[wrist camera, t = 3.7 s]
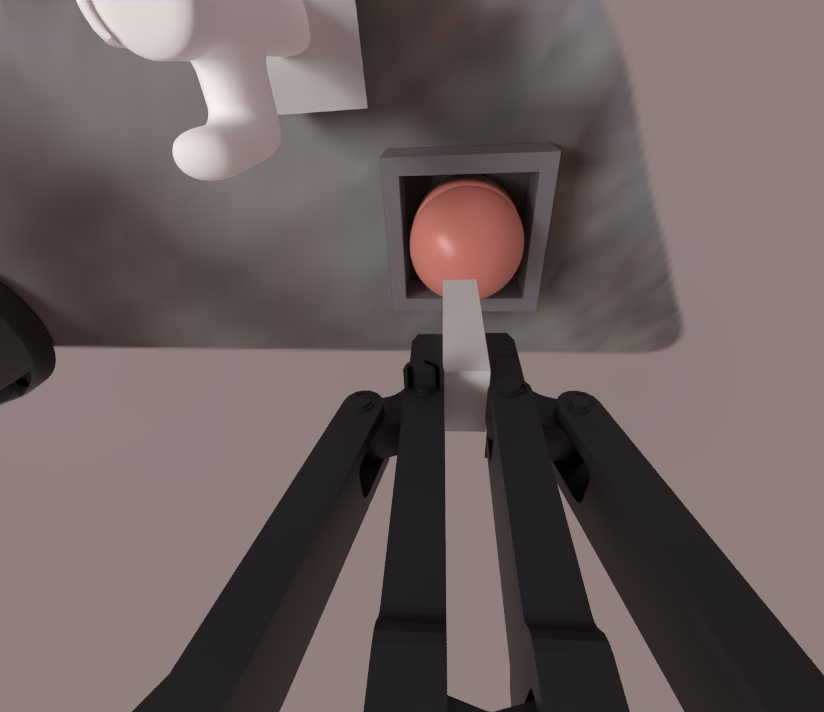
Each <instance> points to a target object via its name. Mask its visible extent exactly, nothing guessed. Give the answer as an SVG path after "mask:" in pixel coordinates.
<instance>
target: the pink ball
mask: <svg viewBox="0 0 824 712" xmlns="http://www.w3.org/2000/svg"><path fill="white" fill-rule="evenodd" d="M523 250H524V231H523V227H522V222H521V220H520V217H519V215H518V212H517V210H516V208H515V205H514V203H513V201H512V199H511V197H510V195H509V194H508V193H507V191H506V190H505V189H504V188H503V187H502V186H501V185H500V184H498V183H497V182H495V181H494V180H492V179H490V178H488V177H485V176H482V175H478V174H458V175H454V176H451V177H448V178H446V179H444V180H442V181H440V182H438V183H437V184H436V185H434V186H433V187H432V188H431V189H430V190H429V191H428V192H427V193H426V194H425V196H424V197H423V198H422V200H421V202H420V204H419V206H418V208H417V211H416V214H415V218H414V222H413V226H412V230H411V235H410V255H411V259H412V263H413V266H414V268H415V271H416V273H417V274H418V276H419V278H420V279H421V280H422V281H423V283H424V284H425V285H426V286H427V287H428V288H429V289H430V290H432V291H433V292H434V293H436V294H438V295H439V296H442V297H443V280H466V279H477V286H478V292H479V299H484V298H486V297H488V296H491V295H492V294H494V293H496V292H497V291H499V290H500V289H501V288H503V287H504V286H505V285H506V284H507V283H508V282H509V281H510V279H511V278H512V277H513V275H514V274H515V272H516V270H517V268H518V266H519V264H520V262H521V259H522V255H523Z"/></svg>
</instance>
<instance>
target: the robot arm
mask: <svg viewBox="0 0 824 712" xmlns="http://www.w3.org/2000/svg"><path fill="white" fill-rule="evenodd" d="M55 362H56V358H55V351H54V348H53V345H52V342H51V340H50V338H49V336H48V334H47V332H46V330H45V329H44V327H43V326H42V324H41V323H40V322H39V320H38V319H37V318H36V316H35V315H34V314H33V313H32V312H31V311H30V309H29V308H28V307H27V306H26V305H25V304H24V303H23V302H22V301H21V300H20V299H19V298H18V297H16V296H15V295H14V294H13V293H12V292H11V291H9V290H8V289H7V288H6V287H4V286H3V285H2V284H0V405H2V404H4V403H7V402H9V401H12V400H14V399H17V398H20V397H22V396H24V395H26V394H28V393H29V392H31V391H32V390H33V389H35V388H36V387H37V386H38V385H40V384H41V383H42V382H44V381H45V380H46V379H47V378H49V377H50V375H51V374H52V372H53V370H54V368H55ZM403 373H404V386H405V388H404V389H403V390H402V391H401V392H399V393H398V394H396V395H393V396H390V397H386V398H382V397H381V396H380V395H379V394H377V393H375V392H372V391H359V392H355V393H353V394H351V395H349V396H348V397H347V398H346V399H345V400H344V402H343V403H342V405H341V406H340V408H339V410H338V411H337V413H336V414H335V416H334V417H333V419H332V420H331V422H330V424H329V425H328V427H327V428H326V430H325V432H324V433H323V435H322V436H321V438H320V439H319V441H318V442H317V444H316V446H315V447H314V449H313V450H312V452H311V453H310V455H309V456H308V458H307V460H306V461H305V463H304V464H303V466H302V467H301V469H300V471H299V472H298V474H297V475H296V477H295V478H294V480H293V481H292V483H291V485H290V486H289V488H288V489H287V491H286V492H285V494H284V496H283V497H282V499H281V501H280V502H279V503H278V505H277V507H276V508H275V510H274V511H273V513H272V514H271V516H270V517H269V519H268V521H267V522H266V524H265V525H264V527H263V528H262V530H261V532H260V533H259V535H258V536H257V538H256V539H255V541H254V542H253V544H252V546H251V547H250V549H249V550H248V552H247V554H246V555H245V557H244V558H243V560H242V561H241V563H240V564H239V566H238V567H237V569H236V571H235V572H234V574H233V575H232V577H231V578H230V580H229V582H228V583H227V585H226V586H225V588H224V589H223V591H222V593H221V594H220V596H219V597H218V599H217V600H216V602H215V603H214V605H213V607H212V608H211V610H210V612H209V613H208V614H207V616H206V618H205V619H204V621H203V623H202V624H201V625H200V627H199V628H198V630H197V632H196V633H195V635H194V636H193V638H192V640H191V641H190V643H189V644H188V646H187V647H186V649H185V650H184V652H183V654H182V655H181V657H180V658H179V660H178V662H177V663H176V664H175V666H174V668H173V669H172V671H171V672H170V674H169V675H168V676H167V677H166V678H165V679H164V680H163V681H162V682H161V683H160V684H159V685H158V686H157V687H156V688H155V689H154V690H153V691H152V692H151V693H150V694H149V695H148V696H147V697H146V698H145V699H144V700H143V701H142V702H141V703H140V704H139V705H138V706H137V707H136V708H135V709H134V710H133V711H132V712H279V711H280V709H281V706H282V705H283V702H284V700H285V698H286V696H287V693H288V691H289V689H290V686H291V684H292V682H293V680H294V677H295V675H296V673H297V670H298V668H299V666H300V663H301V661H302V659H303V656H304V654H305V652H306V650H307V647H308V645H309V643H310V640H311V638H312V636H313V634H314V631H315V629H316V627H317V624H318V622H319V620H320V617H321V615H322V613H323V611H324V608H325V606H326V603H327V601H328V599H329V597H330V594H331V592H332V590H333V588H334V585H335V583H336V581H337V578H338V576H339V574H340V571H341V569H342V567H343V565H344V562H345V560H346V558H347V555H348V553H349V551H350V549H351V546H352V544H353V542H354V539H355V537H356V534H357V533H358V530H359V528H360V526H361V523H362V521H363V519H364V516H365V514H366V512H367V510H368V507H369V505H370V503H371V500H372V498H373V496H374V493H375V491H376V489H377V486H378V484H379V482H380V480H381V477H382V475H383V473H384V470H385V468H386V466H387V463H388V461H389V457H392V456H395V455H397V463H396V472H395V481H394V489H393V498H392V507H391V516H390V526H389V534H388V543H387V552H386V561H385V570H384V579H383V588H382V596H381V605H380V612H379V616H378V618H377V620H376V622H375V627H374V632H373V638H372V646H371V655H370V662H369V671H368V679H367V688H366V696H365V705H364V712H488V711H485V710H482V709H480V708H477V707H475V706H473V705H470V704H468V703H465V702H463V701H460V700H458V699H455V698H453V697H450V696H448V695H447V643H446V641H447V638H446V542H445V431H485V429H487V437H486V448H485V458H488V467H489V476H490V485H491V494H492V503H493V513H494V522H495V531H496V539H497V549H498V559H499V568H500V576H501V586H502V595H503V605H504V613H505V623H506V632H507V641H508V650H509V659H510V694H511V707H509V708H506V709H502V710H499V711H495V712H630V711H629V708H628V704H627V701H626V697H625V694H624V690H623V687H622V683H621V680H620V676H619V673H618V669H617V666H616V662H615V659H614V655H613V652H612V649H611V647H610V644H609V641H608V640H607V638H606V636H605V634H604V633H603V632H602V631H601V630H600V629H599V628H597V626H596V624H595V623H594V620H593V616H592V613H591V610H590V606H589V602H588V599H587V594H586V591H585V587H584V583H583V580H582V576H581V572H580V568H579V564H578V561H577V557H576V553H575V550H574V546H573V542H572V538H571V534H570V531H569V527H568V523H567V519H566V516H565V512H564V508H563V504H562V501H561V497H560V493H559V489H558V486H557V484H558V485H559V487H560V489H561V491H562V493H563V495H564V496H565V498H566V500H567V502H568V503H569V505H570V507H571V509H572V511H573V512H574V514H575V516H576V518H577V520H578V521H579V523H580V525H581V526H582V529H583V530H584V532H585V534H586V536H587V538H588V539H589V541H590V543H591V545H592V546H593V548H594V550H595V552H596V554H597V555H598V557H599V559H600V561H601V563H602V564H603V566H604V568H605V570H606V572H607V573H608V575H609V577H610V578H611V581H612V582H613V584H614V586H615V588H616V589H617V591H618V593H619V595H620V597H621V599H622V600H623V602H624V604H625V606H626V608H627V609H628V611H629V613H630V615H631V617H632V618H633V620H634V622H635V623H636V625H637V627H638V629H639V631H640V632H641V634H642V636H643V638H644V640H645V642H646V643H647V645H648V647H649V648H650V651H651V652H652V654H653V656H654V658H655V659H656V661H657V663H658V665H659V667H660V668H661V670H662V672H663V674H664V676H665V677H666V679H667V681H668V683H669V685H670V686H671V688H672V690H673V692H674V694H675V695H676V697H677V699H678V701H679V703H680V704H681V706H682V708H683V710H684V712H824V675H823V674H822V673H821V672H820V670H819V669H818V668H817V667H816V665H815V664H814V663H813V662H812V660H811V659H810V658H809V657H808V656H807V654H806V653H805V652H804V651H803V650H802V648H801V647H800V646H799V645H798V644H797V642H796V641H795V640H794V639H793V637H792V636H791V635H790V634H789V633H788V631H787V630H786V629H785V628H784V626H783V625H782V624H781V623H780V621H779V620H778V619H777V618H776V617H775V615H774V614H773V613H772V612H771V611H770V609H769V608H768V607H767V606H766V604H765V603H764V602H763V601H762V600H761V598H760V597H759V596H758V595H757V593H756V592H755V591H754V590H753V589H752V587H751V586H750V585H749V584H748V582H747V581H746V580H745V579H744V578H743V576H742V575H741V574H740V573H739V571H738V570H737V569H736V568H735V567H734V565H733V564H732V563H731V562H730V560H729V559H728V558H727V557H726V556H725V554H724V553H723V552H722V551H721V550H720V548H719V547H718V546H717V545H716V543H715V542H714V541H713V540H712V539H711V537H710V536H709V535H708V534H707V532H705V530H704V529H703V528H702V526H701V525H700V524H699V523H698V522H697V520H696V519H695V518H694V517H693V515H692V514H691V513H690V512H689V510H688V509H687V508H686V507H685V506H684V505H683V503H682V502H681V501H680V500H679V498H678V497H677V496H676V495H675V494H674V492H673V491H672V490H671V489H670V487H669V486H668V485H667V484H666V482H665V481H664V480H663V479H662V478H661V476H660V475H659V474H658V473H657V471H656V470H655V469H654V468H653V467H652V465H651V464H650V463H649V462H648V461H647V459H646V458H645V457H644V456H643V455H642V453H641V452H640V451H639V450H638V448H637V447H636V446H635V445H634V443H633V442H632V441H631V440H630V439H629V437H628V436H627V435H626V434H625V432H624V431H623V430H622V429H621V428H620V426H619V425H618V424H617V423H616V421H615V420H614V419H613V418H612V417H611V415H610V414H609V413H608V412H607V411H606V409H605V408H604V407H603V406H602V404H601V403H600V402H599V401H598V400H597V399H596V398H594V397H593V396H591V395H589V394H587V393H585V392H580V391H567V392H564V393H562V394H561V395H560V396H559V397H558V399H554V398H549V397H545V396H542V395H539V394H537V393H535V392H533V391H532V389H531V387H530V385H529V384H527V383H526V382H525V381H524V377H523V373H522V369H521V365H520V361H519V357H518V353H517V350H516V346H515V342H514V340H513V339H512V338H511V337H510V336H509V335H508V334H507V333H485V331H484V325H483V318H482V312H481V305H480V299H479V292H478V286H477V279H466V280H443V334H418V335H417V336H416V338H415V339H414V340H413V341H412V348H411V358H410V362H409V363H407V364H406V365H405V367H404V369H403Z"/></svg>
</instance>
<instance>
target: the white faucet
mask: <svg viewBox="0 0 824 712" xmlns="http://www.w3.org/2000/svg"><path fill="white" fill-rule="evenodd" d="M76 1H77V3H78V5H79V7H80V10H81V11H82V13H83V14H84V16H85V18H86V19H87V21H88V22H89V24H90V25H91V27H92V28H93V30H94V31H95V32H96V33H97V34H98V35H99V36H100V37H101V38H102V39H103V40H104V41H105V42H107V43H108V44H109V45H111V46H114V47H117V48H128V49H129V50H131V51H132V52H134V53H135V54H137V55H139V56H141V57H143V58H146V59H149V60H153V61H175V62H187V61H190V62H191V63H192V65H193V67H194V69H195V71H196V73H197V76H198V78H199V81H200V85H201V88H202V91H203V94H204V97H205V100H206V103H207V107H208V120H207V123H206V125H204V126H200V127H196V128H193V129H190V130H187V131H186V132H184V133H182V134H181V135H180V136H178V137H177V139H176V140H175V142H174V144H173V157H174V160H175V162H176V164H177V165H178V167H179V168H180V169H181V170H182V171H183V172H184V173H186V174H187V175H189V176H191V177H193V178H196V179H199V180H204V181H219V180H225V179H228V178H231V177H234V176H236V175H238V174H240V173H242V172H244V171H246V170H247V169H249V168H251V167H253V166H255V165H257V164H259V163H261V162H263V161H265V160H266V159H268V158H269V157H270V156H272V155H273V154H274V153H275V152H276V150H277V149H278V147H279V144H280V141H281V129H280V123H279V118H278V115H285V114H299V113H312V112H326V111H339V110H352V109H366V108H368V107H367V98H366V90H365V81H364V72H363V64H362V55H361V46H360V37H359V29H358V20H357V11H356V3H355V0H76Z"/></svg>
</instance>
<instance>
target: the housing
mask: <svg viewBox="0 0 824 712" xmlns="http://www.w3.org/2000/svg"><path fill="white" fill-rule="evenodd" d="M560 156H561V151H560V150H559V149H558V148H557V147H555V146H554V145H553V144H552V143H551V142H548V143H522V144H496V145H470V146H444V147H418V148H391V149H386V151H385V152H384V153H383V155H382V156H381V157H380V165H381V176H382V188H383V199H384V211H385V222H386V234H387V246H388V257H389V269H390V280H391V292H392V304H393V311H443V297H442V296H439V295H438V294H436V293H434V292H433V291H432V290H430V289H429V288H428V287H427V286H426V285H425V284H424V283H423V281H422V280H410V271H409V252H408V234H407V216H406V197H405V179H404V176H421V175H453V174H484V173H516V172H530V177H529V185H528V194H527V202H526V211H525V219H524V227H523V231H524V250H523V255H522V259H521V262H520V264H519V269H518V277H517V279H510V281H509V282H508V283H507V284H506V285H505V286H504V287H503V288H501V289H500V290H499V291H497V292H496V293H494V294H492V295H491V296H488V297H486V298H484V299H480V305H481V311H536V308H537V302H538V295H539V289H540V283H541V276H542V270H543V264H544V257H545V251H546V245H547V238H548V232H549V226H550V219H551V213H552V207H553V200H554V194H555V188H556V181H557V175H558V169H559V162H560Z"/></svg>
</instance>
